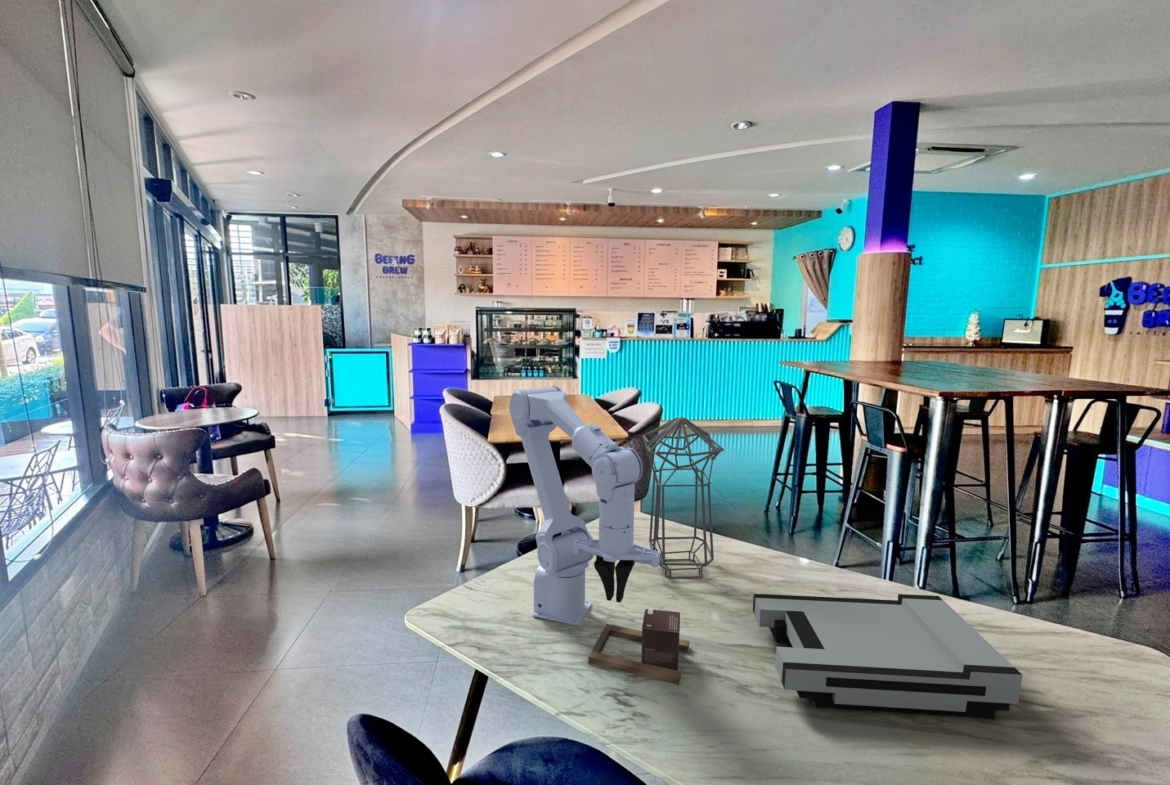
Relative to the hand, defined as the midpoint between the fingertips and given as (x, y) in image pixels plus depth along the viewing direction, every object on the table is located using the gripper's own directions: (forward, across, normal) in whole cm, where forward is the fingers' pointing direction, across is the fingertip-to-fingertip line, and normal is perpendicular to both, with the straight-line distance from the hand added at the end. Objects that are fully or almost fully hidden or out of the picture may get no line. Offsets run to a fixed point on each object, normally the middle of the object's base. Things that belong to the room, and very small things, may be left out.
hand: (615, 598), depth 91 cm
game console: (+10, +40, +9) cm, 42 cm away
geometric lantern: (+10, +5, +32) cm, 34 cm away
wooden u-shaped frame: (+9, +4, 0) cm, 10 cm away
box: (+10, +8, 0) cm, 13 cm away
